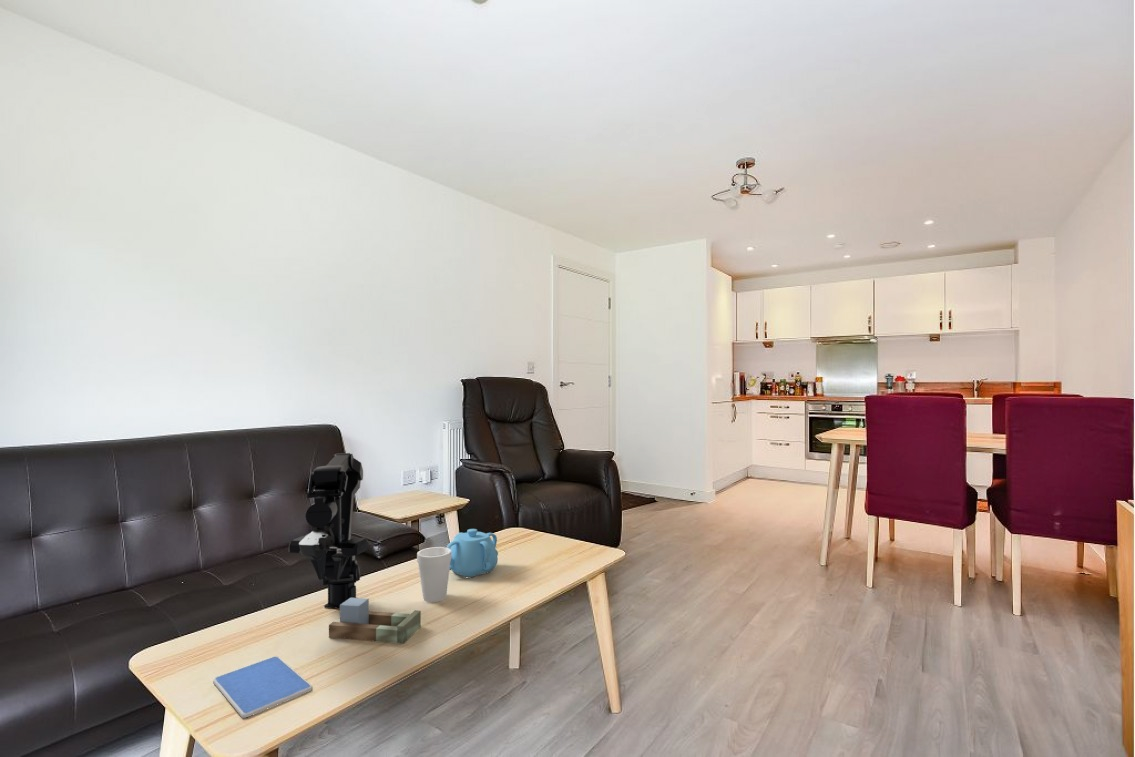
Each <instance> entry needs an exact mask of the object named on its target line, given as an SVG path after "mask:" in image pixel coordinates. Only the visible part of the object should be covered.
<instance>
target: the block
mask: <svg viewBox="0 0 1135 757" xmlns="http://www.w3.org/2000/svg"><path fill="white" fill-rule="evenodd" d="M369 604H370V598H362V597H356V598H349V599H348V600H346V601H345V602H343V603H342V604H340V608H339V622H345V623H358V624H369V611H370V605H369Z"/></svg>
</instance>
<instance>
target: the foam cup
mask: <svg viewBox="0 0 1135 757" xmlns="http://www.w3.org/2000/svg"><path fill="white" fill-rule="evenodd" d="M446 547H447V546H446ZM446 547H444V546H436V547H435V546H433V547H428V548H423V549H421V550H419V551H417V553H416V562H417V564H418V565H417V566H418V570H419V571H418V572H419V579H420V585H421V586H420V587H421V592H422V593H421V594H422V600H423V599H424V600H423V601H424V602H426V603H437V602H441V601H444V600H446V598H447V593H448V586H449V585H448V584H449V577H450V570H449V569H450V561H451V550H450V549H449V548H446Z"/></svg>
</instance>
